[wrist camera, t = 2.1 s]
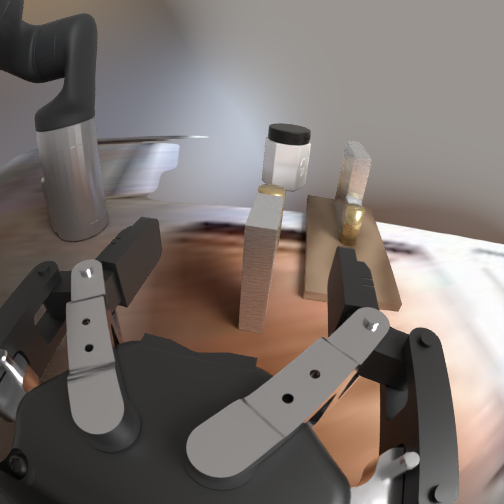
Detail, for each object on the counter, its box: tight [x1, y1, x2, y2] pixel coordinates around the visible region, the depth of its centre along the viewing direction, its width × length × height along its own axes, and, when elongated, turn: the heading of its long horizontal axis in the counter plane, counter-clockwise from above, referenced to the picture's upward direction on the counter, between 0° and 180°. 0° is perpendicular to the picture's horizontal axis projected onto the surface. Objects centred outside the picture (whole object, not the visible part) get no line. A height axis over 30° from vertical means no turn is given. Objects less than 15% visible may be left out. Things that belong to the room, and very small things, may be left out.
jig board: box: [303, 195, 402, 311], centre depth 43 cm, size 12×26×1 cm, turn 170°
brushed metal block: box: [239, 184, 286, 334], centre depth 29 cm, size 8×3×12 cm, turn 170°
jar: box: [262, 124, 311, 191], centre depth 57 cm, size 9×8×12 cm
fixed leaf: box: [334, 140, 372, 246], centre depth 42 cm, size 3×14×12 cm, turn 170°
